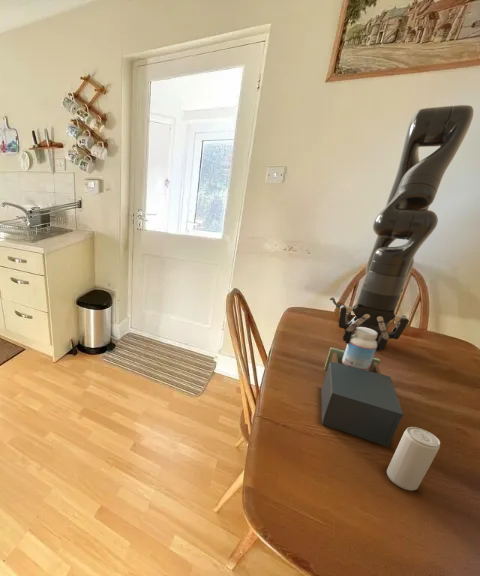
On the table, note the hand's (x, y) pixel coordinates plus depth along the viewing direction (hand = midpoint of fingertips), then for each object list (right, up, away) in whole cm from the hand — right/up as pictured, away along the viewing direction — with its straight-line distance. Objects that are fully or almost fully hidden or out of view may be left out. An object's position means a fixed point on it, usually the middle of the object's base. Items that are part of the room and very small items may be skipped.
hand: (361, 345), depth 85 cm
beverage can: (-11, -24, -22) cm, 34 cm away
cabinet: (-7, -17, -5) cm, 19 cm away
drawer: (+1, -12, +5) cm, 13 cm away
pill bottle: (0, -6, +2) cm, 7 cm away
